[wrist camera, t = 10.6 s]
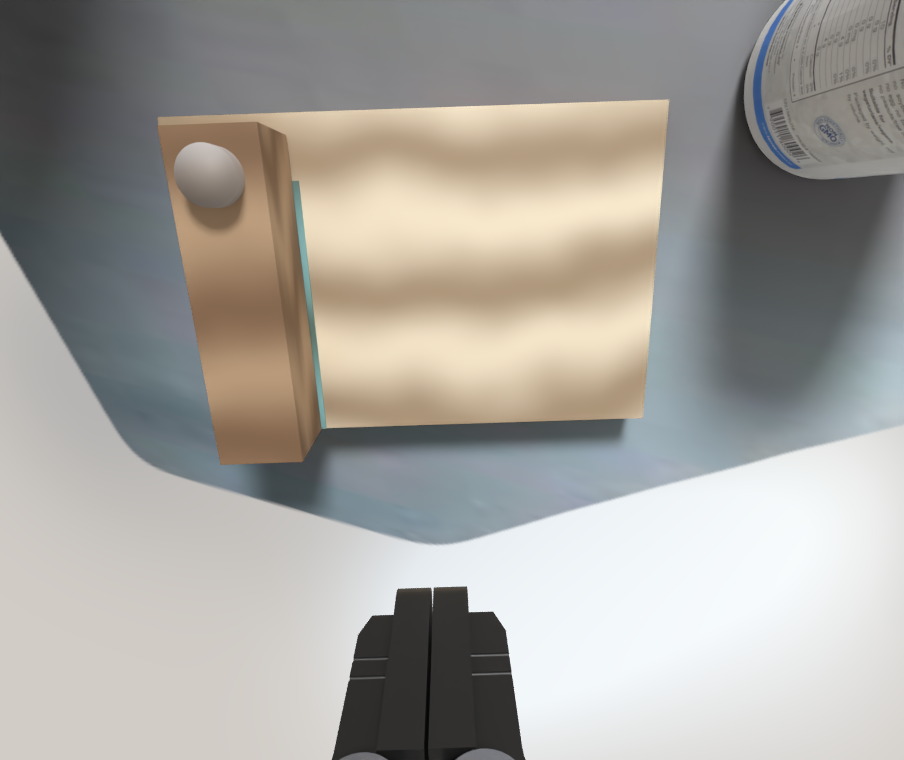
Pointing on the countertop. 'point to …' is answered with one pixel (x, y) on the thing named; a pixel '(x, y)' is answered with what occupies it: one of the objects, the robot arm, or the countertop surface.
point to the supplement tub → (830, 88)
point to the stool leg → (245, 286)
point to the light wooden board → (476, 258)
